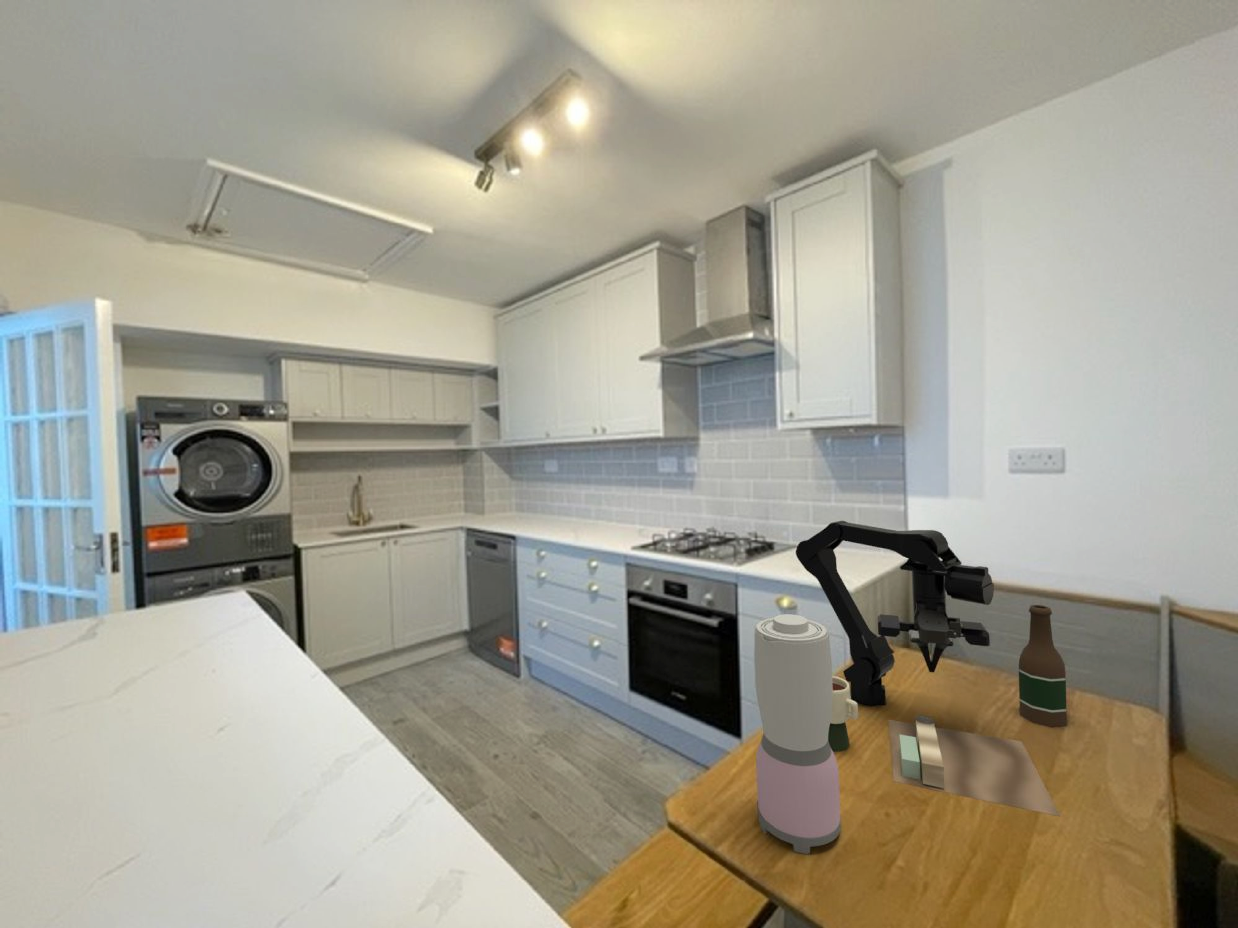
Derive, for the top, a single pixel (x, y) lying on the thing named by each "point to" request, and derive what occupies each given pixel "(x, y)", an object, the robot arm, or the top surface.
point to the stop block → (909, 757)
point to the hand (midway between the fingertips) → (931, 671)
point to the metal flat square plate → (979, 768)
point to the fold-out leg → (929, 752)
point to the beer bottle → (1042, 674)
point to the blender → (796, 732)
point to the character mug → (841, 715)
